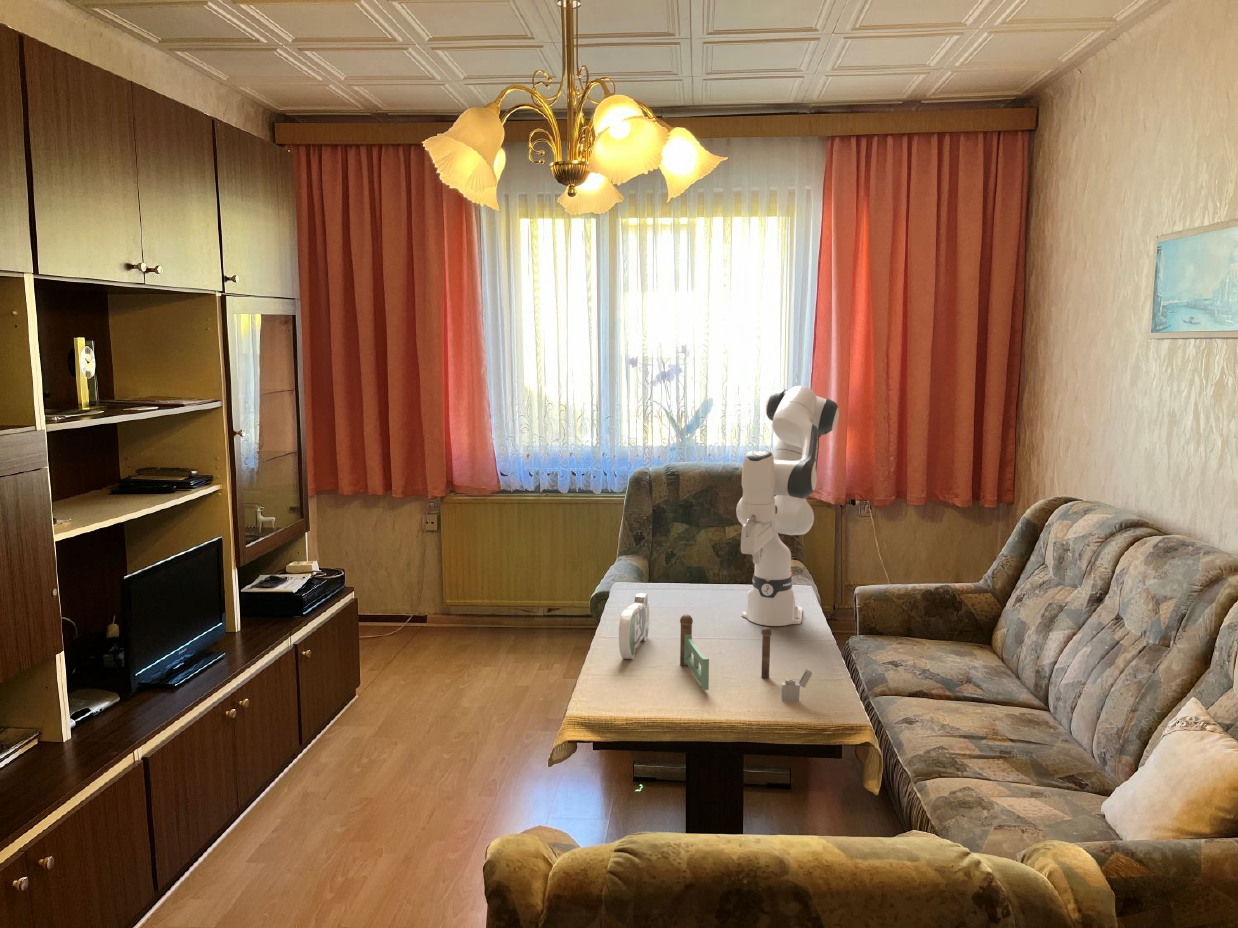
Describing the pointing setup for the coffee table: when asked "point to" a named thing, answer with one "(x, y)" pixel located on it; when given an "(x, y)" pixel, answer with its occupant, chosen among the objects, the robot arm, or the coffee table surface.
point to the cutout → (634, 626)
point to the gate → (696, 661)
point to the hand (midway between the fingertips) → (757, 562)
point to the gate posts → (766, 632)
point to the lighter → (794, 688)
